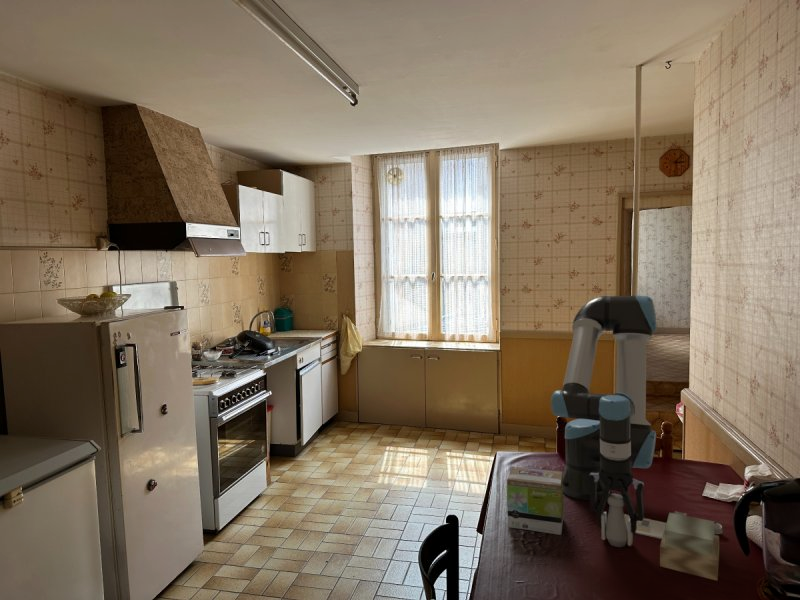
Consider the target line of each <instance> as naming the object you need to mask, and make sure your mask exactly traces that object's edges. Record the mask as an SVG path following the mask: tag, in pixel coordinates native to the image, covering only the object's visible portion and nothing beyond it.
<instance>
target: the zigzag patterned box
mask: <svg viewBox="0 0 800 600" xmlns="http://www.w3.org/2000/svg"><path fill="white" fill-rule="evenodd" d="M668 513H669V514H668V516H667V521H666V522H665V523H666V525H665V529H664V533H663V537H662V539H660V540H661V541H660V545H659V567H662V568H666V569H670V570H674V571H677V572H681V573H685V574H690V575H694V576H697V577H701V578H705V579H709V580H712V581H713V580H714V581H718V577H719V566H720V565H719V563H720V536H719V535H718V534H714V521H715V520H714V521H713V520H708V519H705V518H704V519H703V518H699V517H695V516H688V515H687V516H684V515H679V514H674V512H668Z"/></svg>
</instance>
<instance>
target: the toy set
mask: <svg viewBox="0 0 800 600" xmlns="http://www.w3.org/2000/svg"><path fill="white" fill-rule="evenodd" d="M673 513H674V514H679V515H684V516H688V513H686V512H682V511H681V512H680V511H677V510H674V512H673ZM721 534H723V526H722V525H721V524H720V523H718V522H717V521H715V520H714V535H721Z"/></svg>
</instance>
